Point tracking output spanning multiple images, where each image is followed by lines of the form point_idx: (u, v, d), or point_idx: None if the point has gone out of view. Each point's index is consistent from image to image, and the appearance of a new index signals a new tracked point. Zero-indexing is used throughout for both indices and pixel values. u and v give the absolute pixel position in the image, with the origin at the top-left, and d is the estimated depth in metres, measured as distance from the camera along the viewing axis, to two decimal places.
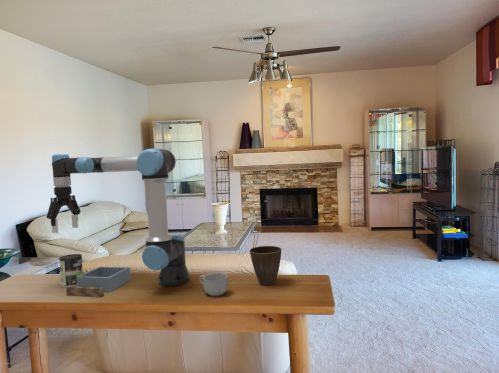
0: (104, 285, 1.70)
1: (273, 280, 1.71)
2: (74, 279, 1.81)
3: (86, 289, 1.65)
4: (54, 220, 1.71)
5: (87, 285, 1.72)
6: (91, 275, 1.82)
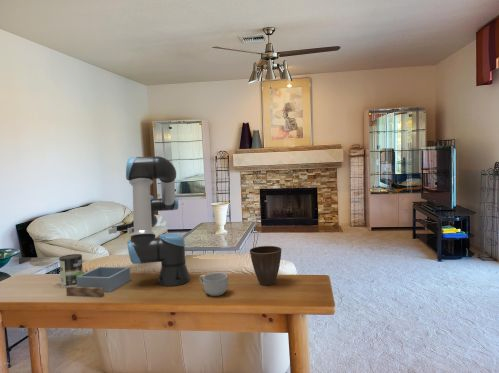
0: (104, 285, 1.70)
1: (273, 280, 1.71)
2: (74, 279, 1.81)
3: (86, 289, 1.65)
4: (114, 228, 2.00)
5: (87, 285, 1.72)
6: (91, 275, 1.82)
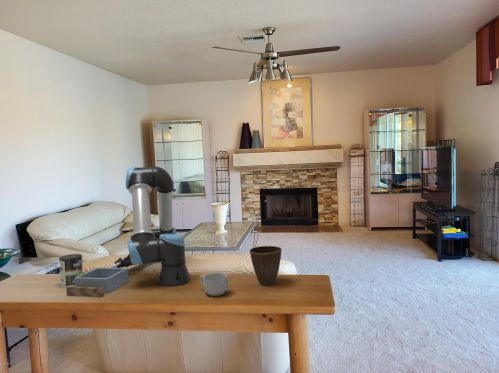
0: (102, 286, 1.69)
1: (273, 280, 1.71)
2: None
3: (86, 289, 1.65)
4: None
5: (85, 286, 1.71)
6: (89, 276, 1.81)
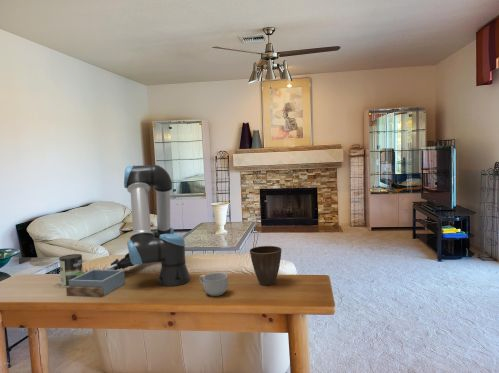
0: None
1: (273, 280, 1.71)
2: None
3: (86, 289, 1.65)
4: None
5: None
6: (84, 278, 1.77)
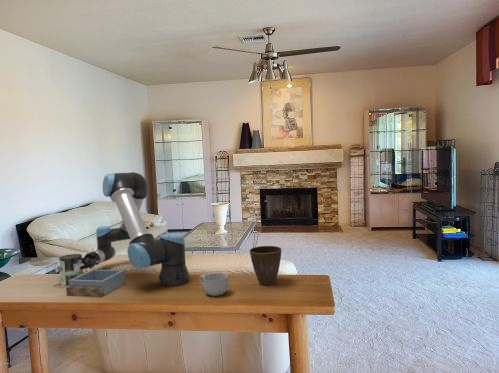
0: None
1: (273, 280, 1.71)
2: None
3: (86, 289, 1.65)
4: None
5: None
6: (84, 278, 1.77)
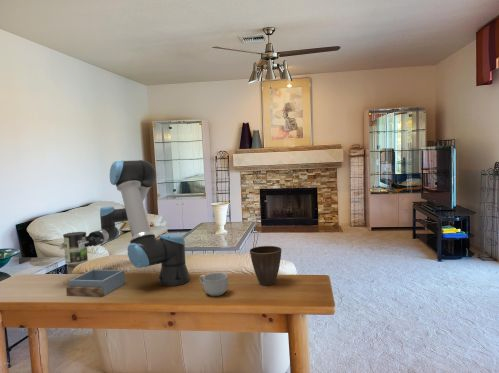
0: None
1: (273, 280, 1.71)
2: (78, 256, 1.79)
3: (86, 289, 1.65)
4: None
5: None
6: (84, 278, 1.77)
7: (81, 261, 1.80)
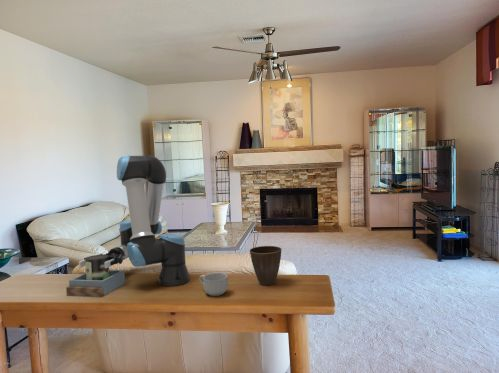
0: None
1: (273, 280, 1.71)
2: None
3: (86, 289, 1.65)
4: None
5: None
6: (84, 278, 1.77)
7: None
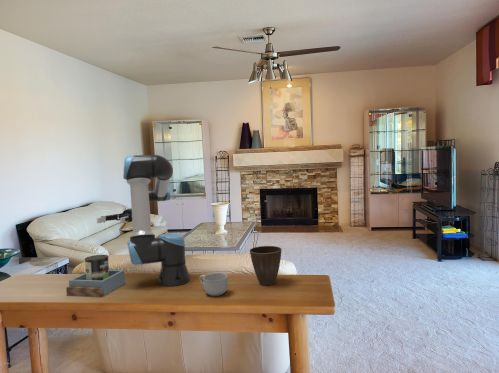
0: None
1: (273, 280, 1.71)
2: None
3: (86, 289, 1.65)
4: None
5: None
6: (84, 278, 1.77)
7: None
